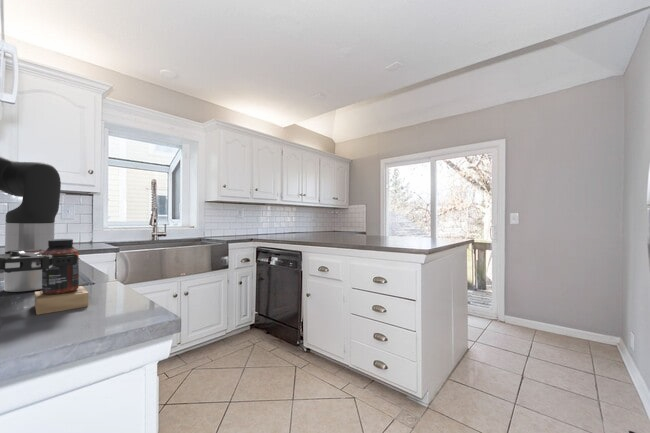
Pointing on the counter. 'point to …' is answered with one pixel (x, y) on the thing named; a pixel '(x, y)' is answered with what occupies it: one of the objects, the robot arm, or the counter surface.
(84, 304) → the oak base
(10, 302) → the counter surface
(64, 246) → the supplement bottle
